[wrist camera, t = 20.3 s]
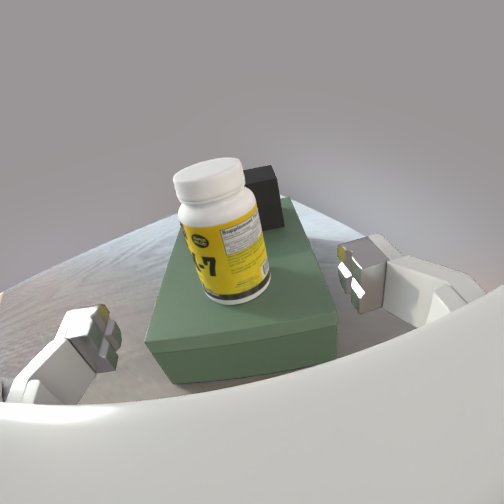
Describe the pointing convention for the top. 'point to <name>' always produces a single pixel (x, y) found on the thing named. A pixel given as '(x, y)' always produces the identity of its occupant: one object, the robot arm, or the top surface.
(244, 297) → the supplement bottle
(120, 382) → the top surface
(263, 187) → the dark stepped block
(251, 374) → the block
